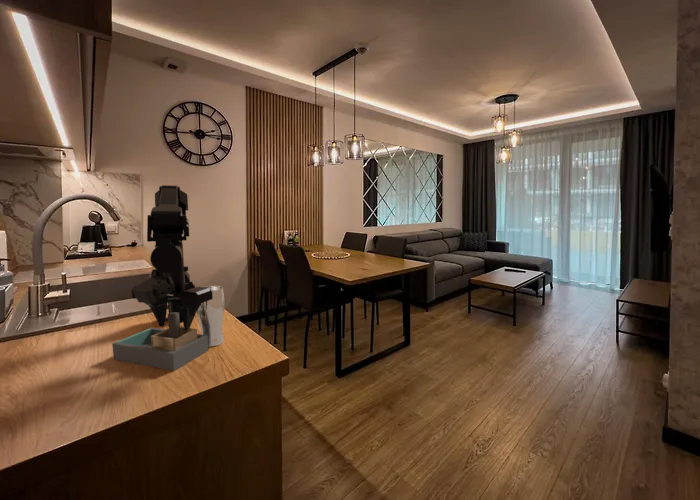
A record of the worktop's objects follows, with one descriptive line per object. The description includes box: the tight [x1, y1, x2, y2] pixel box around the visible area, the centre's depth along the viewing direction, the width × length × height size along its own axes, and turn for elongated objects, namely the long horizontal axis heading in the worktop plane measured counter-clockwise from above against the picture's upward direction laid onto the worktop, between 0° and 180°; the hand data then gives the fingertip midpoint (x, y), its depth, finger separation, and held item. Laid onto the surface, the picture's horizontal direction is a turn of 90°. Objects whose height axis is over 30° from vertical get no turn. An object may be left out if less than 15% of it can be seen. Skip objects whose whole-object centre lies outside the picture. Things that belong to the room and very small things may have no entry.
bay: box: [112, 326, 209, 372], centre depth 82 cm, size 18×11×4 cm, turn 73°
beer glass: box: [196, 284, 226, 348], centre depth 89 cm, size 7×7×15 cm
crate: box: [151, 312, 198, 351], centre depth 80 cm, size 7×7×10 cm
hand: (174, 327), depth 80 cm, fingers open, 7 cm apart
